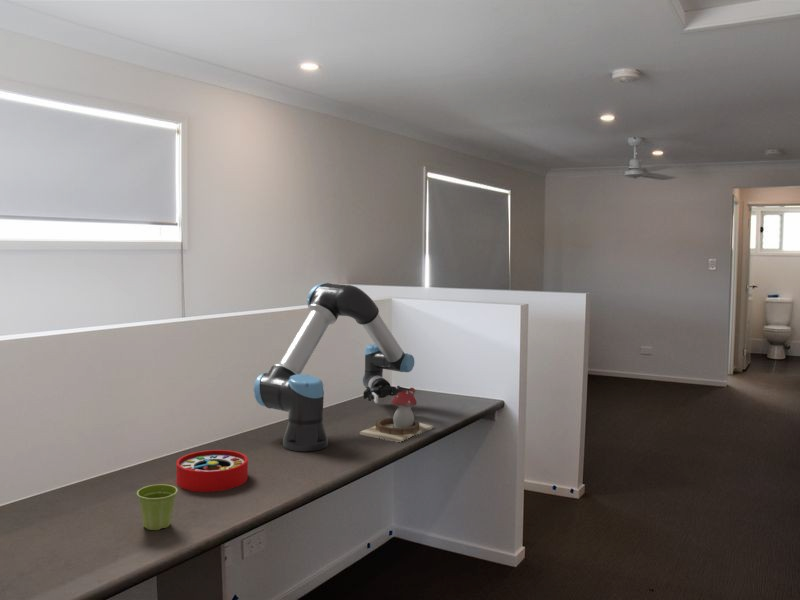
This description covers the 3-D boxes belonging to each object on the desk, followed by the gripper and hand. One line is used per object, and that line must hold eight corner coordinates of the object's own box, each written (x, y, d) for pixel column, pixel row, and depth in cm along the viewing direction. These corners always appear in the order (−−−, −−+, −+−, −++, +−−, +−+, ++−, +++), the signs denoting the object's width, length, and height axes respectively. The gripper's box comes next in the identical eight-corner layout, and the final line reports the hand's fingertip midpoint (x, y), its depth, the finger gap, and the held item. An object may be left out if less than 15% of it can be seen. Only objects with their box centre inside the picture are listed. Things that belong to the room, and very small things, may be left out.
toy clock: (260, 462, 203) (197, 477, 189) (260, 481, 204) (197, 498, 190) (225, 445, 217) (164, 458, 204) (225, 464, 218) (164, 478, 204)
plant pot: (182, 518, 176) (182, 484, 175) (171, 534, 166) (171, 498, 166) (144, 517, 175) (144, 483, 175) (131, 533, 166) (131, 497, 165)
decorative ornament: (415, 425, 264) (416, 386, 262) (416, 430, 257) (417, 390, 256) (390, 425, 263) (391, 386, 262) (391, 430, 257) (392, 389, 255)
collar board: (399, 442, 245) (399, 434, 244) (359, 434, 254) (360, 426, 253) (433, 428, 265) (433, 420, 265) (395, 420, 274) (395, 413, 274)
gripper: (408, 394, 289) (425, 407, 268) (349, 397, 281) (362, 410, 261) (409, 376, 288) (426, 387, 268) (349, 378, 280) (362, 390, 260)
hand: (394, 398), depth 264 cm, fingers open, 13 cm apart
